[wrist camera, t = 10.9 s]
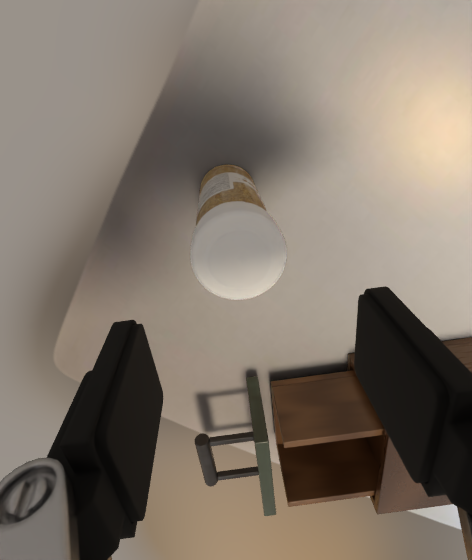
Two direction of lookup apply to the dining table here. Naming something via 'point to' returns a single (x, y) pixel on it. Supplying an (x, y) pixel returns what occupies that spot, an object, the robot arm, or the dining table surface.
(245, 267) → the sprinkles bottle
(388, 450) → the cabinet
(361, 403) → the drawer
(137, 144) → the dining table surface
